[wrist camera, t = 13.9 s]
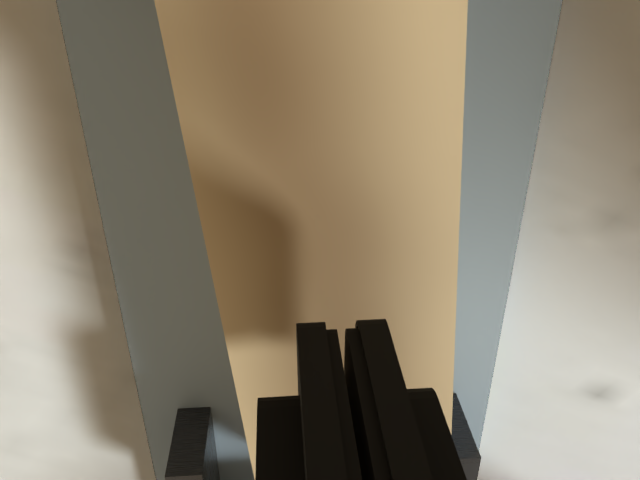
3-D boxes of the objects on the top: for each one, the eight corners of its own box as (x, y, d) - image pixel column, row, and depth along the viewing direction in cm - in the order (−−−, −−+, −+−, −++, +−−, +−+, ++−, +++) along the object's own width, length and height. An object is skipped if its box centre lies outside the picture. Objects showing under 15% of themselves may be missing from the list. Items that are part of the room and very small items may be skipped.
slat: (394, -290, 12) (485, -445, 7) (405, 440, 23) (445, 594, 18) (156, -268, 12) (68, -410, 7) (280, 455, 23) (282, 614, 18)
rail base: (613, -446, 12) (771, -615, 8) (459, 474, 26) (492, 571, 23) (-16, -469, 12) (-164, -667, 8) (170, 492, 26) (152, 596, 22)
